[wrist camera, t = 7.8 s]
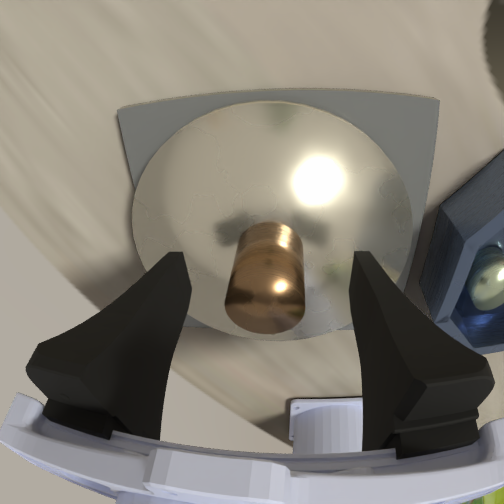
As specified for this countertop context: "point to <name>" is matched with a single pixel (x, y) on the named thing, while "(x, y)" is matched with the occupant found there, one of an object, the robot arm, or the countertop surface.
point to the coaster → (333, 100)
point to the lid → (272, 216)
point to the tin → (470, 263)
